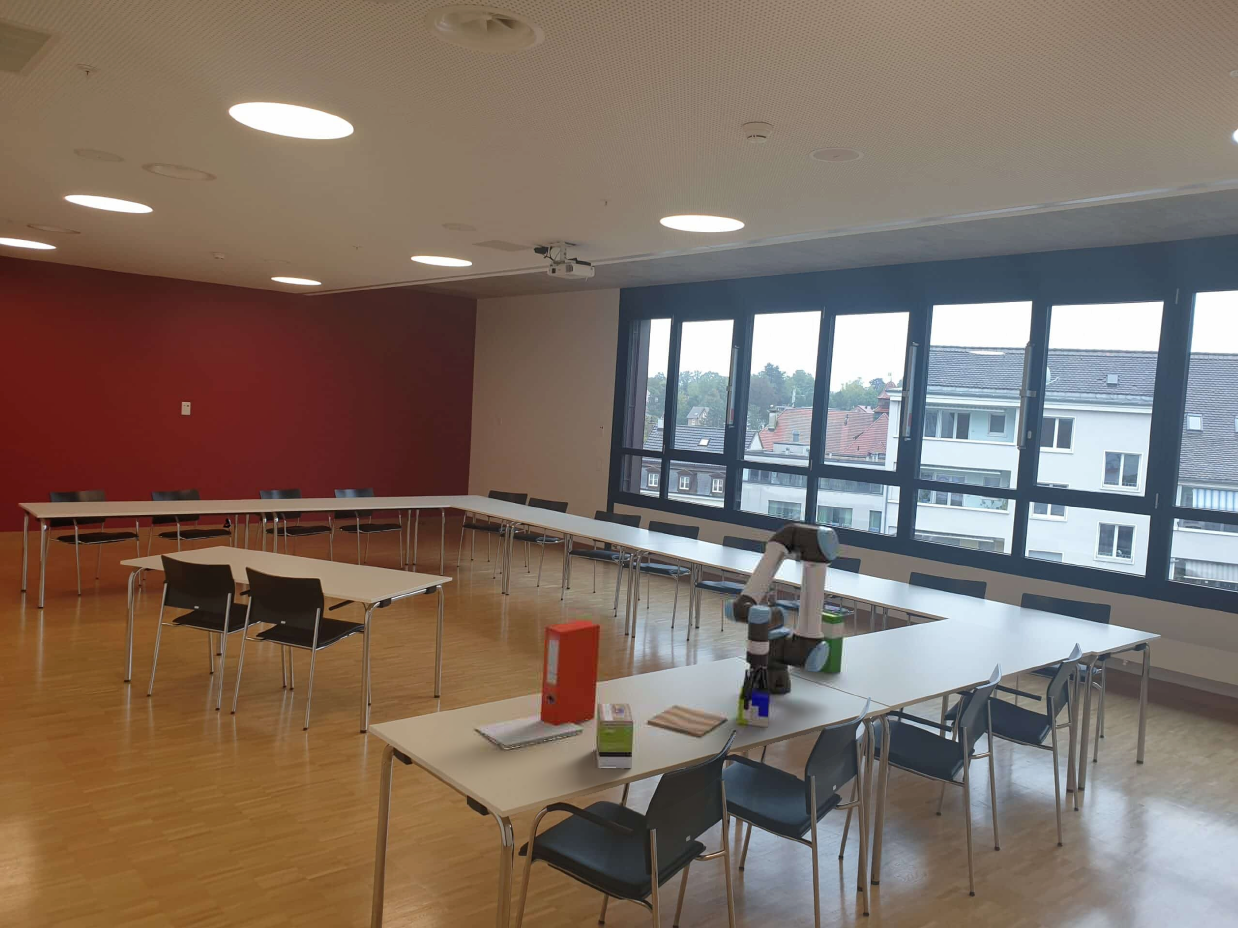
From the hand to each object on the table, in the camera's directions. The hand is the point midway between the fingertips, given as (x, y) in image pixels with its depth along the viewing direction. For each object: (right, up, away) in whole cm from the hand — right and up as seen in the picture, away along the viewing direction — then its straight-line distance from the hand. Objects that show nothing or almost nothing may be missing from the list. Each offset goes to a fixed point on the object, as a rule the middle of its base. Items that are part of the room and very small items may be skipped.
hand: (753, 713), depth 302 cm
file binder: (-63, 0, -9) cm, 64 cm away
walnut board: (-23, -1, -5) cm, 24 cm away
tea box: (-48, -3, -40) cm, 63 cm away
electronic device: (-75, 0, -21) cm, 78 cm away
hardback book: (+38, -1, +69) cm, 79 cm away
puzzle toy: (0, -3, 0) cm, 3 cm away
